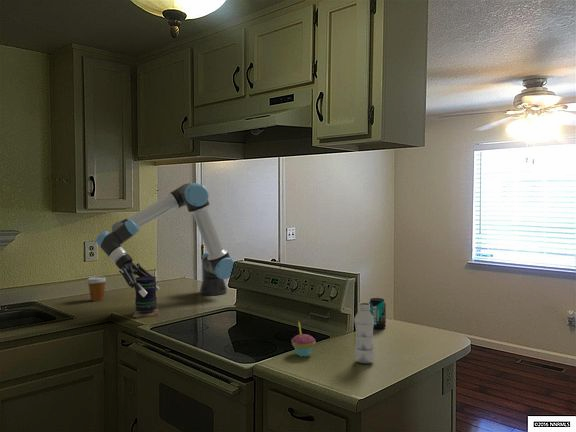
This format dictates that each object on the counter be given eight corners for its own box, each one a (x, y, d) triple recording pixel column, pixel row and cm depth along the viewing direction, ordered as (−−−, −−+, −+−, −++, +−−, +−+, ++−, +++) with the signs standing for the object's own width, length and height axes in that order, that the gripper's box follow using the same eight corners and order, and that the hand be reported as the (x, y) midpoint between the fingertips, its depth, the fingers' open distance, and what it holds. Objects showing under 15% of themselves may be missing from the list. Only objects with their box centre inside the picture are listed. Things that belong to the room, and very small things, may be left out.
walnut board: (158, 310, 242) (158, 308, 242) (157, 316, 233) (157, 313, 233) (135, 312, 240) (135, 309, 240) (133, 317, 230) (133, 315, 230)
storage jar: (161, 308, 238) (160, 277, 237) (145, 312, 230) (144, 280, 229) (147, 305, 243) (146, 275, 242) (130, 309, 235) (130, 278, 234)
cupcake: (287, 355, 176) (286, 322, 176) (300, 348, 183) (299, 316, 183) (307, 360, 171) (307, 325, 171) (320, 353, 179) (319, 320, 178)
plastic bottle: (372, 366, 164) (372, 307, 163) (352, 364, 167) (352, 305, 165) (376, 360, 170) (376, 302, 169) (357, 358, 173) (356, 301, 171)
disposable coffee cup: (107, 301, 265) (106, 278, 264) (87, 302, 262) (87, 280, 261) (106, 297, 274) (105, 275, 273) (87, 299, 270) (87, 277, 270)
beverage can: (389, 328, 209) (389, 299, 208) (377, 330, 205) (376, 302, 204) (377, 324, 215) (377, 296, 214) (365, 327, 211) (365, 298, 210)
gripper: (130, 260, 250) (159, 293, 247) (102, 267, 229) (133, 303, 225) (139, 250, 248) (168, 283, 245) (111, 256, 227) (143, 292, 223)
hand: (151, 292), depth 235 cm, fingers closed on storage jar, 10 cm apart
